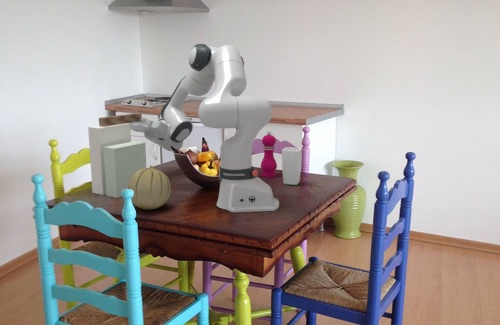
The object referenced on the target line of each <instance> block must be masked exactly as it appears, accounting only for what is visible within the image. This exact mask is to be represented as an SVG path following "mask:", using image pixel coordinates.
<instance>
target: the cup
mask: <svg viewBox="0 0 500 325" xmlns="http://www.w3.org/2000/svg"><path fill="white" fill-rule="evenodd" d="M302 150H303V148H302V147H291V146H290V147H289V146H288V147H287V146H286V147H284V148H282V150H281V168H282V169H281V170H282V179H283V180H282V182H283V184H284V185H286V186H297V185H298V184H299V183H300V179H301V172H302V158H303V156H302V153H303V152H302Z"/></svg>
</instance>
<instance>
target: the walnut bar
mask: <svg viewBox="0 0 500 325" xmlns="http://www.w3.org/2000/svg"><path fill="white" fill-rule="evenodd" d="M141 117H143V116H142V112H141V113H140V112H134V113H127V114H119V115H112V116H111V115H110V116H103V117H98V126H102V127H106V126H112V125H119V124H126V123H132V122H139V121H140V118H141Z"/></svg>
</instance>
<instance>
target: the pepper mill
mask: <svg viewBox="0 0 500 325" xmlns="http://www.w3.org/2000/svg"><path fill="white" fill-rule="evenodd" d="M276 139H277V138H276V137H275V136H274V135H272V132H271V131H267V132H266V135H264V136H263V137H262V138H261V142H262V145H263V146H262V147H263V149H262V150H264V155H263V157H262V161H261V163H260V168H261V170H262V172H261V177H263V178H267V179H268V178H274V177H276V174H277V173H276V170H277V168H278V165H277V161H276V159H275V156H274V151H275V145H276V141H277V140H276Z"/></svg>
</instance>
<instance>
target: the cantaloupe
mask: <svg viewBox="0 0 500 325" xmlns="http://www.w3.org/2000/svg"><path fill="white" fill-rule="evenodd" d="M128 189H132V190H133V191H134V197H133V198H132V201H131V202H132V204H134V205H135V206H136V207H138V208H140V209H142V210H148V211H149V210H155V209H159V208H160V207H162V206H163V205H165V204H166V202H167V201H168V200H169V197H170V195H171V190H172V187H171V182H170V179H169V177H168V176H167V175H166V174H165V173H164V172H163V171H161V170H159V169H157V168H155V167H154V166H152V165H149V167H146V168H144V169H140V170H138V171H137V172H136V173H135V174H134V175H133V176H132V177H131V179H130V181H129V184H128Z"/></svg>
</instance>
